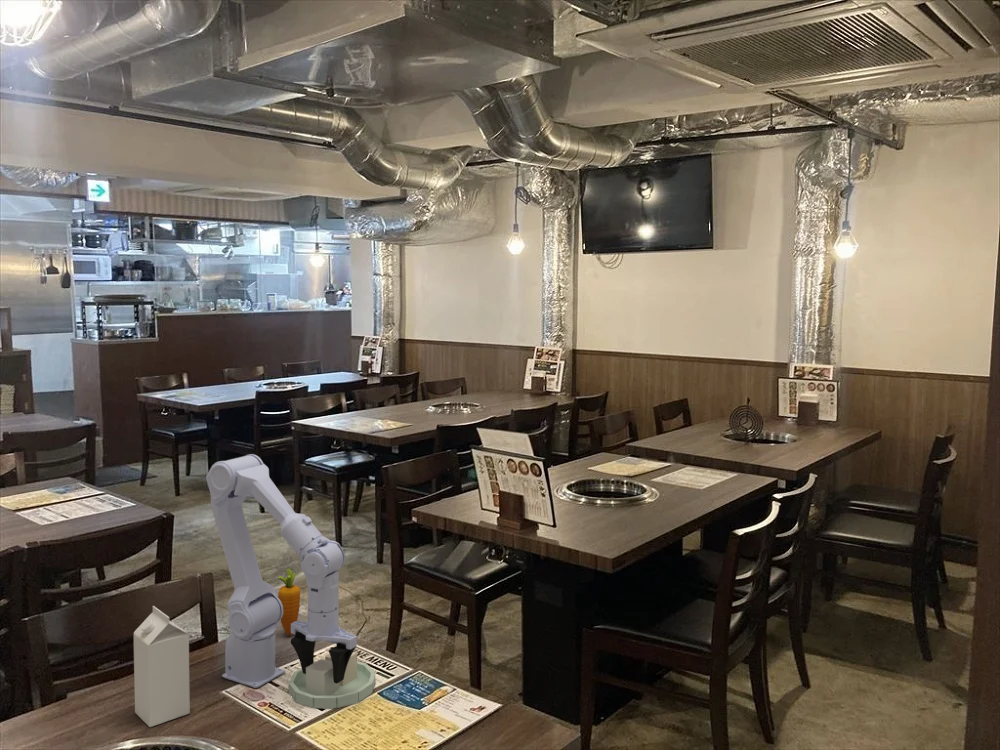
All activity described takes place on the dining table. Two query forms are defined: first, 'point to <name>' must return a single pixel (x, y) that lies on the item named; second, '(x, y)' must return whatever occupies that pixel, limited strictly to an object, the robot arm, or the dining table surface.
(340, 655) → the robot arm
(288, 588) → the carrot
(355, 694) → the serving bowl
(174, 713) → the milk carton
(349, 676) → the beige stone block
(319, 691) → the grey stone block
